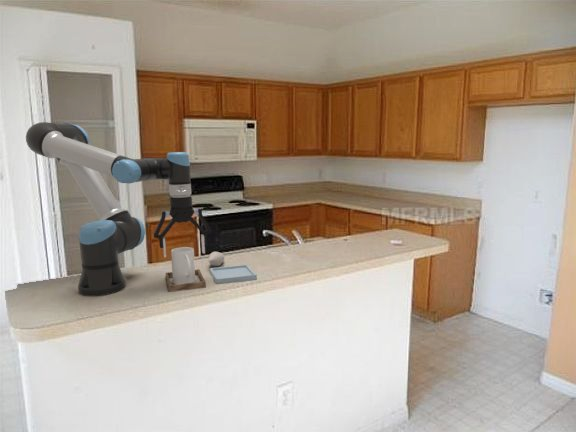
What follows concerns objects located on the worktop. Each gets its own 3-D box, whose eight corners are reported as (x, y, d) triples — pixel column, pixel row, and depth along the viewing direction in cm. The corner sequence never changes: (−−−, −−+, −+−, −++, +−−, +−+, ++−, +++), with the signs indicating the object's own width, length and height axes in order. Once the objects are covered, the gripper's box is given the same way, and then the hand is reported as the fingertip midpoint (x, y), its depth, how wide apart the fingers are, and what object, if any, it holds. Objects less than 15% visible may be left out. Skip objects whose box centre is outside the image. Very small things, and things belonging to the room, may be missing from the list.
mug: (200, 285, 152) (199, 252, 150) (176, 289, 148) (174, 255, 146) (193, 276, 162) (191, 245, 160) (170, 279, 159) (168, 248, 157)
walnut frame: (168, 291, 146) (168, 286, 145) (165, 277, 161) (165, 272, 161) (205, 287, 150) (205, 281, 149) (199, 274, 165) (199, 269, 165)
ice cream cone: (207, 271, 168) (219, 267, 183) (218, 262, 167) (230, 258, 182) (198, 259, 168) (211, 256, 183) (209, 250, 168) (221, 247, 183)
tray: (216, 284, 153) (216, 279, 153) (209, 272, 167) (209, 268, 167) (256, 279, 158) (256, 274, 158) (247, 268, 172) (247, 264, 172)
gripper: (143, 199, 143) (148, 260, 146) (217, 195, 151) (220, 253, 154) (143, 197, 150) (148, 255, 153) (214, 193, 158) (217, 248, 161)
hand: (184, 254), depth 154 cm, fingers open, 13 cm apart
